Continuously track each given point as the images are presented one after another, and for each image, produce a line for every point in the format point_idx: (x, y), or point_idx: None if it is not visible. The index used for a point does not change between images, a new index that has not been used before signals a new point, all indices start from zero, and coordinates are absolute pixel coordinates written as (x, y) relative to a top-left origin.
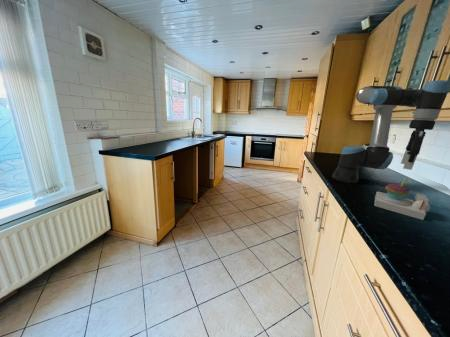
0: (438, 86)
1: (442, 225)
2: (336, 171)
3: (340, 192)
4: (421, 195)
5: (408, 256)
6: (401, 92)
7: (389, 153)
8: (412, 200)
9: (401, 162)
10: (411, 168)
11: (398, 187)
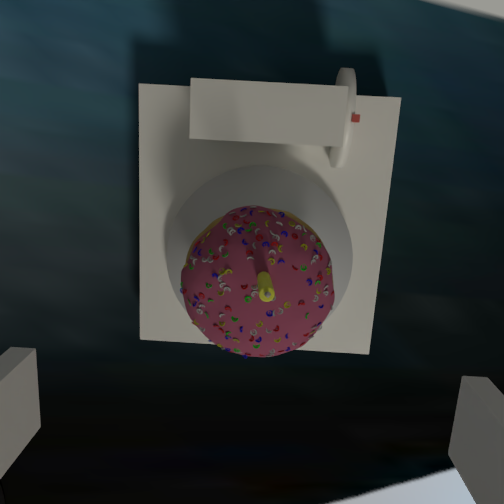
0: None
1: (394, 6)
2: None
3: (272, 500)
4: (231, 113)
5: None
6: None
7: None
8: (146, 131)
9: (30, 435)
10: (499, 394)
11: (310, 298)
